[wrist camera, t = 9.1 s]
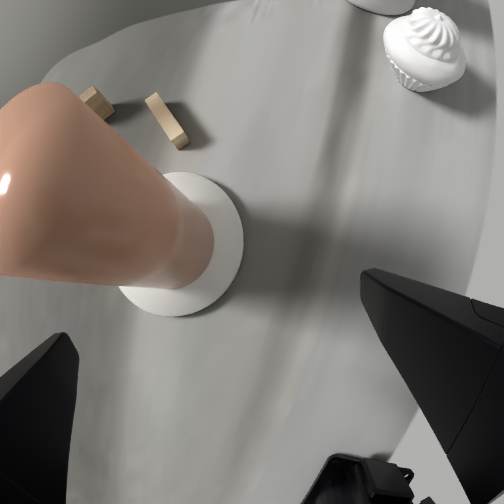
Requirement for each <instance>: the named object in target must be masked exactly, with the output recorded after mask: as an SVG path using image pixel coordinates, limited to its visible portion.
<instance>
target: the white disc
mask: <svg viewBox="0 0 504 504" xmlns="http://www.w3.org/2000/svg"><path fill="white" fill-rule="evenodd" d="M162 175H163V176H164V177H166V178H167V179H168V180H169V181H170V182H171V183H172V184H173V185H174V186H175V187H176V188H178V189H179V190H180V191H181V192H182V193H183V194H184V195H185V196H186V197H187V198H188V199H189V200H191V201H192V202H193V203H194V204H195V205H196V206H197V207H198V208H199V209H200V210H201V211H202V212H203V213H204V214H205V215H206V217H207V218H208V220H209V222H210V224H211V226H212V229H213V234H214V250H213V254H212V258H211V260H210V263H209V265H208V266H207V268H206V270H205V271H204V272H203V274H202V275H201V276H200V277H199V278H198V279H196V280H195V281H194V282H192V283H191V284H189V285H187V286H184V287H182V288H177V289H158V288H141V287H126V286H119V288H120V289H121V291H122V292H123V293H124V295H125V296H126V297H127V298H128V299H129V300H130V301H131V302H133V303H134V304H135V305H136V306H138V307H140V308H141V309H143V310H145V311H147V312H150V313H152V314H156V315H161V316H182V315H187V314H192V313H195V312H197V311H200V310H202V309H204V308H206V307H208V306H210V305H211V304H212V303H214V302H215V301H217V300H218V299H219V298H220V297H221V296H222V295H223V294H224V293H225V292H226V290H227V289H228V288H229V287H230V285H231V284H232V282H233V280H234V279H235V277H236V275H237V272H238V270H239V268H240V265H241V261H242V257H243V251H244V232H243V226H242V222H241V219H240V216H239V213H238V211H237V209H236V207H235V206H234V204H233V202H232V201H231V199H230V198H229V197H228V195H227V194H226V193H225V192H224V191H223V190H222V189H221V188H220V187H219V186H218V185H216V184H215V183H214V182H212V181H210V180H208V179H207V178H205V177H202V176H199V175H196V174H192V173H185V172H174V173H167V174H162Z"/></svg>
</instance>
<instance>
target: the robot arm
mask: <svg viewBox="0 0 504 504" xmlns="http://www.w3.org/2000/svg"><path fill="white" fill-rule="evenodd" d="M360 296H361V301H362V304H363V306H364V308H365V310H366V312H367V314H368V316H369V318H370V320H371V322H372V324H373V327H374V329H375V331H376V333H377V335H378V337H379V339H380V341H381V343H382V345H383V346H384V348H385V350H386V351H387V353H388V354H389V356H390V358H391V359H392V361H393V363H394V364H395V366H396V368H397V369H398V371H399V373H400V374H401V376H402V378H403V379H404V381H405V383H406V384H407V386H408V388H409V389H410V391H411V393H412V395H413V396H414V398H415V400H416V401H417V403H418V405H419V407H420V408H421V410H422V412H423V414H424V415H425V417H426V419H427V421H428V423H429V424H430V426H431V428H432V430H433V431H434V433H435V435H436V437H437V439H438V441H439V442H440V444H441V446H442V448H443V450H444V452H445V454H447V458H448V460H449V462H450V463H451V466H452V467H453V469H454V471H455V473H456V475H457V477H458V479H459V481H460V483H461V485H462V487H463V489H464V491H465V493H466V495H467V497H468V499H469V501H470V503H471V504H490V503H492V502H493V501H494V500H496V499H497V498H498V497H500V496H501V495H502V494H504V308H501V307H497V306H494V305H491V304H488V303H484V302H481V301H478V300H475V299H471V300H470V298H469V297H466V296H462V295H459V294H456V293H453V292H450V291H447V290H444V289H441V288H437V287H434V286H431V285H428V284H425V283H422V282H418V281H415V280H412V279H409V278H406V277H402V276H399V275H396V274H393V273H389V272H386V271H383V270H380V269H376V268H371V269H368V270H364V271H362V273H361V286H360ZM78 369H79V354H78V352H77V350H76V348H75V346H74V345H73V343H72V341H71V339H70V337H69V336H68V334H67V333H65V332H61V333H55V334H53V335H52V336H51V337H49V338H48V339H47V340H45V341H44V342H43V343H42V344H40V345H39V346H38V347H37V348H35V349H34V350H33V351H32V352H30V353H29V354H28V355H27V356H25V357H24V358H23V359H22V360H21V361H19V362H18V363H17V364H16V365H14V366H13V367H12V368H11V369H10V370H8V371H7V372H6V373H5V374H4V375H2V376H1V377H0V504H66V490H67V474H68V462H69V451H70V442H71V434H72V426H73V418H74V412H75V405H76V396H77V381H78ZM334 460H338V462H337V463H335V464H333V463H332V461H334ZM407 474H409V475H408V476H407V477H404V476H405V475H407ZM413 477H414V473H413V472H412V470H411V469H407V468H401V467H398V466H397V465H396V464H393V463H388V462H383V461H377V460H373V459H368V458H364V459H361V460H360V459H355V458H351V457H347V456H343V455H339V454H334V455H331V456H329V457H328V459H327V461H326V462H325V464H324V466H323V468H322V469H321V471H320V473H319V475H318V476H317V478H316V480H315V481H314V483H313V485H312V486H311V488H310V490H309V491H308V493H307V495H306V496H305V498H304V499H303V501H302V503H301V504H413V502H412V500H413V498H414V494H413V492H412V490H411V488H410V487H409V484H410V482H411V480H412V479H413ZM420 504H435V503H434V501H433V500H432V499H431V498H430V497H427V498H425V499H424V500H422V501H421V503H420Z"/></svg>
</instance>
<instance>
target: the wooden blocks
mask: <svg viewBox="0 0 504 504" xmlns="http://www.w3.org/2000/svg"><path fill="white" fill-rule="evenodd" d="M79 98H80V99H81V100H82V101H83V102H84V103H85V104H86V105H87V106H89V107H90V108H91V109H92V110H93V111H94V112H95V113H96V114H97V115H98V116H99V117H100V118H102V119H103V120H105V119H106V118H107V117H109V116H110V115H111V114H112V113H114V112H115V110H114V109H113V107H112V105H111V104H110V103H109V101H108V100H107V99H106V98H105V97H104V96H103V95H102V94H101V93H100V92H99V91H98V90H97V89H96V88H95V87H94V86H92V87H90V88H89V89H88V90H87V91H85V92H84V93H83V94H82V95H80V96H79ZM145 102H146V103H147V105H148V106H149V108H150V109H151V111H152V112H153V114H154V116H155V117H156V119H157V120H158V122H159V123H160V125H161V126H162V128H163V129H164V131H165V132H166V134H167V135H168V137H169V139H170V140H171V141H172V143H173V144H174V145H175V146H176V148H177V149H178V150H179V149H181V148H182V147H184V146H185V145H187V144H188V143H190V142H191V141H190V140H189V138H188V137H187V135H186V134H185V133H184V131H183V130H182V128H181V127H180V125H179V124H178V122H177V121H176V120H175V118H174V117H173V115H172V114H171V112H170V111H169V110H168V108H167V107H166V105H165V104H164V102H163V101H162V100H161V98H160V97H159V95H158V94H157V92H156V93H154V94H153V95H151V96H150V97H149V98H147V99H146V100H145Z"/></svg>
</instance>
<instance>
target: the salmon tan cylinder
mask: <svg viewBox="0 0 504 504" xmlns="http://www.w3.org/2000/svg"><path fill="white" fill-rule="evenodd" d="M213 250H214V234H213V229H212V226H211V224H210V222H209V220H208V218H207V217H206V215H205V214H204V213H203V212H202V211H201V210H200V209H199V208H198V207H197V206H196V205H195V204H194V203H193V202H192V201H191V200H189V199H188V198H187V197H186V196H185V195H184V194H183V193H182V192H181V191H180V190H179V189H178V188H176V187H175V186H174V185H173V184H172V183H171V182H170V181H169V180H168V179H167V178H166V177H164V176H163V175H162V174H161V173H160V172H159V171H158V170H157V169H156V168H155V167H154V166H153V165H151V164H150V163H149V162H148V161H147V160H146V159H145V158H144V157H143V156H142V155H141V154H139V153H138V152H137V151H136V150H135V149H134V148H133V147H132V146H131V145H130V144H129V143H128V142H126V141H125V140H124V139H123V138H122V137H121V136H120V135H119V134H118V133H117V132H116V131H115V130H113V129H112V128H111V127H110V126H109V125H108V124H107V123H106V122H105V121H104V120H103V119H102V118H100V117H99V116H98V115H97V114H96V113H95V112H94V111H93V110H92V109H91V108H90V107H89V106H87V105H86V104H85V103H84V102H83V101H82V100H81V99H80V98H79V97H78V96H77V95H76V94H75V93H73V92H72V91H71V90H70V89H69V88H67V87H66V86H65V85H62V84H59V83H53V82H48V83H42V84H38V85H35V86H33V87H30V88H28V89H26V90H24V91H23V92H21V93H19V94H18V95H17V96H15V97H14V98H13V99H11V100H10V101H9V102H8V103H7V104H6V105H5V106H4V107H3V108H2V109H1V110H0V275H2V276H11V277H21V278H31V279H41V280H51V281H62V282H74V283H86V284H98V285H112V286H126V287H141V288H158V289H177V288H182V287H184V286H187V285H189V284H191V283H192V282H194V281H195V280H196V279H198V278H199V277H200V276H201V275H202V274H203V272H204V271H205V270H206V268H207V266H208V265H209V263H210V260H211V258H212V254H213Z"/></svg>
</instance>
